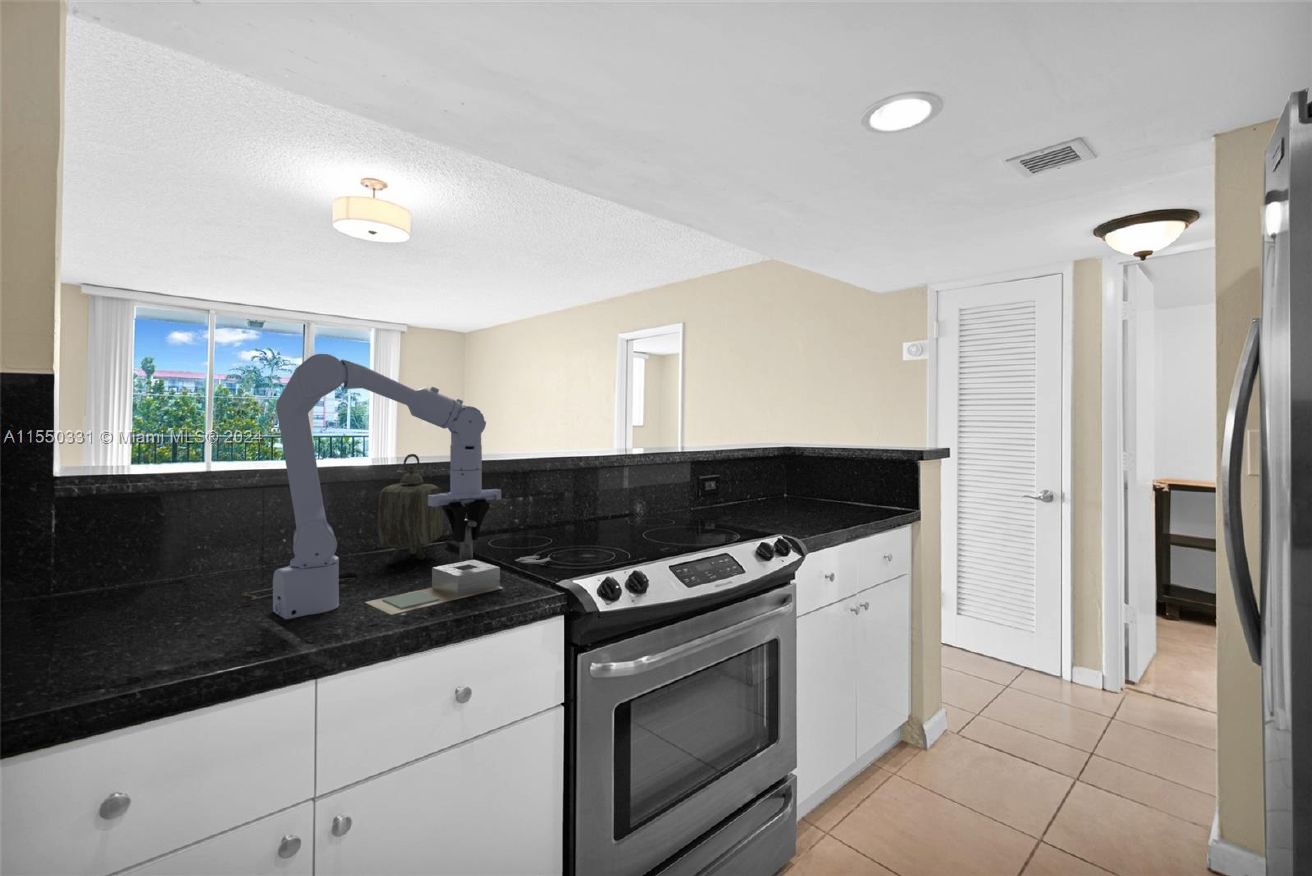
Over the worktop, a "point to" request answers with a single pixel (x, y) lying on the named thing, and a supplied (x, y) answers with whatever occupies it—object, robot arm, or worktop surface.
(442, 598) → the board
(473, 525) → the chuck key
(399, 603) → the mat
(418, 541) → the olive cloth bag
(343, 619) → the worktop surface
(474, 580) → the block
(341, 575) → the hacksaw
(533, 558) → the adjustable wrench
